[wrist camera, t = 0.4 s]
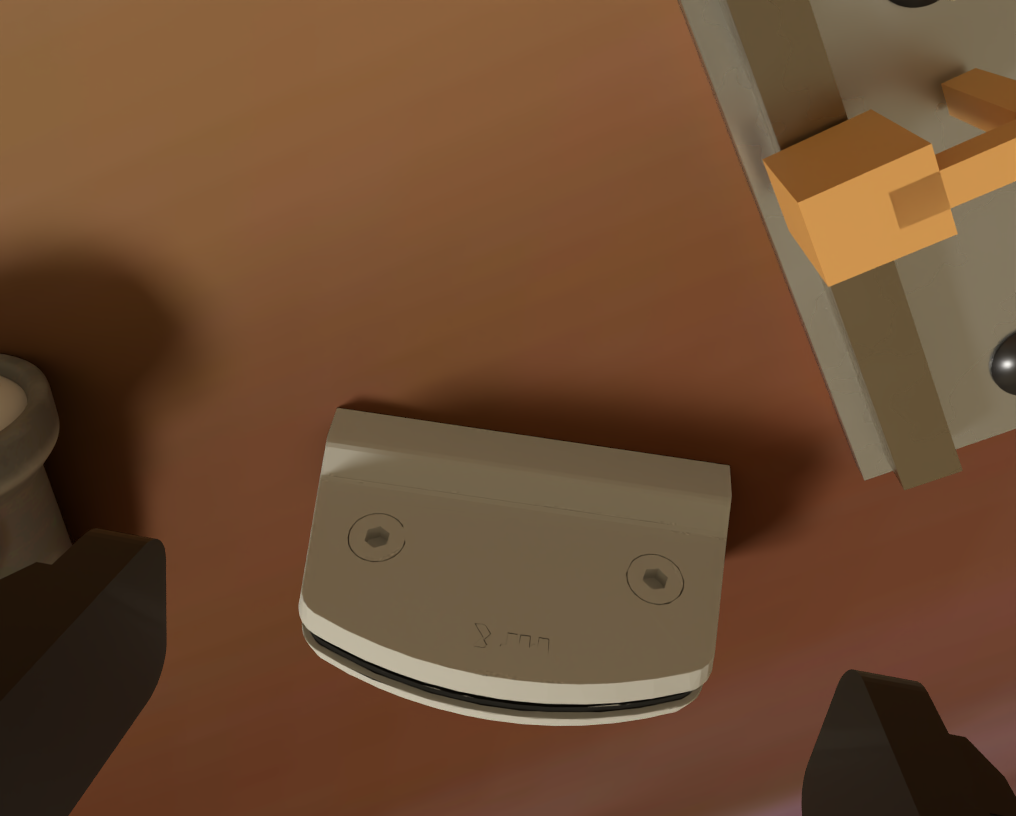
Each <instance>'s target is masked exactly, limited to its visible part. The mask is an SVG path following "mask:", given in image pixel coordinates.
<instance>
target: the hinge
mask: <svg viewBox="0 0 1016 816" xmlns="http://www.w3.org/2000/svg"><path fill="white" fill-rule="evenodd" d="M731 498H732V491H731V476H730V465H723V464H716V463H709V462H703V461H696V460H689V459H682V458H675V457H669V456H662V455H655V454H648V453H641V452H635V451H628V450H621V449H614V448H607V447H601V446H594V445H587V444H580V443H573V442H567V441H560V440H553V439H546V438H539V437H533V436H526V435H519V434H512V433H505V432H499V431H492V430H485V429H478V428H471V427H465V426H458V425H451V424H444V423H437V422H431V421H424V420H417V419H410V418H403V417H397V416H390V415H383V414H376V413H369V412H363V411H356V410H349V409H342V408H337V410H336V413H335V416H334V418H333V421H332V424H331V427H330V430H329V433H328V436H327V441H326V447H325V452H324V458H323V463H322V469H321V475H320V481H319V487H318V493H317V499H316V505H315V511H314V517H313V523H312V529H311V535H310V541H309V547H308V553H307V559H306V565H305V570H304V576H303V582H302V588H301V594H300V600H299V614H300V617H301V620H302V629H303V634H304V637H305V639H306V640H307V642H308V644H309V645H310V646H311V647H312V649H313V650H314V651H315V652H316V653H317V655H318V656H319V657H320V658H322V659H324V660H325V661H327V662H329V663H331V664H332V665H334V666H336V667H338V668H339V669H341V670H343V671H345V672H346V673H348V674H350V675H352V676H355V677H357V678H359V679H361V680H363V681H365V682H367V683H369V684H371V685H374V686H376V687H378V688H380V689H383V690H385V691H388V692H390V693H393V694H395V695H398V696H400V697H403V698H406V699H409V700H412V701H415V702H418V703H422V704H425V705H428V706H431V707H434V708H438V709H442V710H446V711H450V712H454V713H458V714H462V715H466V716H472V717H477V718H483V719H488V720H495V721H503V722H511V723H519V724H533V725H552V726H572V725H595V724H608V723H618V722H625V721H632V720H638V719H645V718H650V717H654V716H659V715H663V714H668V713H672V712H676V711H678V710H679V709H681V708H683V707H684V706H686V705H687V704H689V703H691V702H692V701H694V700H695V699H696V697H697V696H698V695H699V693H700V691H701V689H702V686H703V683H705V682H706V681H707V679H708V677H709V675H710V674H711V672H712V666H713V660H714V654H715V645H716V636H717V626H718V617H719V607H720V598H721V588H722V579H723V569H724V560H725V550H726V541H727V532H728V523H729V515H730V507H731Z"/></svg>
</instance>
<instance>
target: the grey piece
mask: <svg viewBox="0 0 1016 816" xmlns="http://www.w3.org/2000/svg"><path fill="white" fill-rule="evenodd" d="M678 2H679V5H680V8H681V10H682V13H683V15H684V18H685V21H686V23H687V26H688V28H689V31H690V34H691V36H692V39H693V41H694V44H695V47H696V49H697V52H698V54H699V57H700V60H701V62H702V65H703V67H704V70H705V73H706V75H707V78H708V80H709V83H710V86H711V88H712V91H713V93H714V96H715V99H716V101H717V104H718V106H719V109H720V112H721V114H722V117H723V119H724V122H725V125H726V127H727V130H728V132H729V135H730V138H731V140H732V143H733V145H734V148H735V151H736V153H737V156H738V158H739V161H740V164H741V166H742V169H743V171H744V174H745V177H746V179H747V182H748V184H749V187H750V189H751V192H752V195H753V197H754V200H755V202H756V205H757V208H758V210H759V213H760V215H761V218H762V221H763V223H764V226H765V228H766V231H767V234H768V236H769V239H770V241H771V244H772V247H773V249H774V252H775V254H776V257H777V260H778V262H779V265H780V267H781V270H782V273H783V275H784V278H785V280H786V283H787V286H788V288H789V291H790V293H791V296H792V299H793V301H794V304H795V306H796V309H797V312H798V314H799V317H800V319H801V322H802V325H803V327H804V330H805V332H806V335H807V338H808V340H809V343H810V345H811V348H812V351H813V353H814V356H815V358H816V361H817V364H818V366H819V369H820V371H821V374H822V377H823V379H824V382H825V384H826V387H827V390H828V392H829V395H830V397H831V400H832V403H833V405H834V408H835V410H836V413H837V416H838V418H839V421H840V423H841V426H842V429H843V431H844V434H845V436H846V439H847V442H848V444H849V447H850V449H851V452H852V455H853V457H854V460H855V462H856V465H857V467H858V469H859V471H860V473H861V474H862V476H863V478H864V480H867V479H870V478H873V477H876V476H879V475H882V474H885V473H888V472H891V471H893V472H894V473H895V475H896V477H897V479H898V480H899V482H900V484H901V485H902V487H903V489H904V490H907V489H910V488H913V487H916V486H919V485H922V484H925V483H928V482H931V481H934V480H937V479H939V478H942V477H945V476H948V475H951V474H954V473H957V472H960V471H962V467H961V464H960V461H959V458H958V455H957V452H956V449H958V448H961V447H964V446H967V445H969V444H972V443H975V442H978V441H981V440H984V439H987V438H990V437H993V436H996V435H999V434H1002V433H1004V432H1007V431H1010V430H1013V429H1016V181H1015V182H1013V183H1010V184H1008V185H1005V186H1003V187H1001V188H998V189H996V190H994V191H991V192H989V193H986V194H984V195H982V196H979V197H977V198H974V199H972V200H970V201H967V202H965V203H962V204H960V205H958V206H955V207H953V208H951V212H952V216H953V219H954V223H955V226H956V229H957V233H958V234H957V235H954V236H952V237H949V238H947V239H945V240H942V241H940V242H937V243H935V244H932V245H930V246H928V247H925V248H923V249H920V250H918V251H915V252H913V253H910V254H908V255H906V256H903V257H901V258H898V259H896V260H893V261H891V262H889V263H886V264H884V265H881V266H879V267H876V268H874V269H871V270H869V271H867V272H864V273H862V274H859V275H857V276H854V277H852V278H850V279H847V280H845V281H842V282H840V283H837V284H835V285H832V286H830V287H828V286H827V285H826V283H825V282H824V280H823V279H822V277H821V276H820V275H819V273H818V272H817V270H816V269H815V267H814V266H813V265H812V263H811V262H810V260H809V259H808V257H807V256H806V255H805V253H804V252H803V250H802V249H801V247H800V246H799V245H798V243H797V242H796V240H795V239H794V237H793V236H792V235H791V233H790V232H789V230H788V227H787V224H786V222H785V219H784V216H783V214H782V211H781V208H780V206H779V203H778V200H777V197H776V195H775V192H774V189H773V187H772V184H771V181H770V179H769V176H768V173H767V171H766V168H765V165H764V163H763V160H762V159H764V158H766V157H769V156H771V155H773V154H775V153H777V152H779V151H782V150H784V149H786V148H788V147H790V146H792V145H795V144H797V143H799V142H801V141H803V140H805V139H808V138H810V137H812V136H814V135H816V134H818V133H821V132H823V131H825V130H827V129H829V128H831V127H834V126H836V125H838V124H840V123H842V122H844V121H847V120H849V119H851V118H853V117H855V116H857V115H860V114H862V113H864V112H866V111H868V110H870V109H872V110H873V111H875V112H877V113H879V114H880V115H882V116H884V117H886V118H887V119H889V120H891V121H893V122H894V123H896V124H898V125H900V126H901V127H903V128H905V129H907V130H908V131H910V132H912V133H914V134H916V135H917V136H919V137H921V138H923V139H924V140H926V141H928V142H930V143H931V144H932V147H933V150H934V153H935V154H938V153H940V152H942V151H944V150H947V149H949V148H951V147H954V146H956V145H958V144H960V143H963V142H965V141H967V140H970V139H972V138H974V137H976V136H979V135H981V134H983V133H986V132H985V131H983V130H981V129H979V128H976V127H974V126H972V125H970V124H968V123H966V122H963V121H961V120H959V119H957V118H955V117H953V116H950V115H949V111H948V108H947V104H946V100H945V97H944V93H943V90H942V86H941V84H942V83H944V82H946V81H948V80H950V79H953V78H955V77H957V76H959V75H961V74H964V73H966V72H968V71H970V70H972V69H974V68H978V69H981V70H984V71H987V72H991V73H994V74H997V75H1000V76H1004V77H1007V78H1010V79H1013V80H1016V0H678Z"/></svg>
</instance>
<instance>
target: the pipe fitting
mask: <svg viewBox="0 0 1016 816" xmlns="http://www.w3.org/2000/svg"><path fill="white" fill-rule="evenodd" d="M58 434H59V417H58V413H57V409H56V406H55V402H54V399H53V396H52V392H51V389H50V386H49V383H48V380H47V378H46V377H45V375H44V374H43V372H42V371H41V370H40V369H39V368H38V367H36V366H35V365H33V364H32V363H30V362H28V361H26V360H24V359H21V358H18V357H14V356H10V355H5V354H0V579H2V578H4V577H6V576H8V575H10V574H12V573H14V572H17V571H19V570H21V569H23V568H25V567H27V566H29V565H31V564H33V563H35V562H40V563H45V564H51V565H52V564H53V563H54V562H55V561H56V560H57V559H58V558H59V557H60V556H61V555H63V554H64V553H65V552H66V551H67V550H68V549H69V548H70V547H71V546H72V543H71V541H70V538H69V535H68V532H67V529H66V527H65V524H64V521H63V518H62V516H61V513H60V510H59V507H58V504H57V502H56V499H55V496H54V493H53V490H52V488H51V485H50V482H49V479H48V476H47V474H46V471H45V468H44V465H43V464H44V462H45V461H46V459H47V458H48V456H49V455H50V453H51V451H52V450H53V448H54V446H55V444H56V441H57V438H58Z"/></svg>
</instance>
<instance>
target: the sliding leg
mask: <svg viewBox="0 0 1016 816" xmlns="http://www.w3.org/2000/svg"><path fill="white" fill-rule="evenodd" d="M941 86H942V90H943V93H944V97H945V100H946V104H947V108H948V111H949V115H950V116H953V117H955V118H957V119H959V120H961V121H963V122H966V123H968V124H970V125H972V126H974V127H976V128H979V129H981V130H983V131H985V132H986V133H983V134H981V135H979V136H976V137H974V138H972V139H970V140H967V141H965V142H963V143H960V144H958V145H956V146H954V147H951V148H949V149H947V150H944V151H942V152H940V153H938V154H935V153H934V150H933V147H932V144H931V143H930V142H928V141H926V140H924V139H923V138H921V137H919V136H917V135H916V134H914V133H912V132H910V131H908V130H907V129H905V128H903V127H901V126H900V125H898V124H896V123H894V122H893V121H891V120H889V119H887V118H886V117H884V116H882V115H880V114H879V113H877V112H875V111H873V110H872V109H870V110H868V111H866V112H864V113H862V114H860V115H857V116H855V117H853V118H851V119H849V120H847V121H844V122H842V123H840V124H838V125H836V126H834V127H831V128H829V129H827V130H825V131H823V132H821V133H818V134H816V135H814V136H812V137H810V138H808V139H805V140H803V141H801V142H799V143H797V144H795V145H792V146H790V147H788V148H786V149H784V150H782V151H779V152H777V153H775V154H773V155H771V156H769V157H766V158H764V159H762V160H763V163H764V165H765V168H766V171H767V173H768V176H769V179H770V181H771V184H772V187H773V189H774V192H775V195H776V197H777V200H778V203H779V206H780V208H781V211H782V214H783V216H784V219H785V222H786V224H787V227H788V230H789V232H790V233H791V235H792V236H793V237H794V239H795V240H796V242H797V243H798V245H799V246H800V247H801V249H802V250H803V252H804V253H805V255H806V256H807V257H808V259H809V260H810V262H811V263H812V265H813V266H814V267H815V269H816V270H817V272H818V273H819V275H820V276H821V277H822V279H823V280H824V282H825V283H826V285H827V286H828V287H830V286H832V285H835V284H837V283H840V282H842V281H845V280H847V279H850V278H852V277H854V276H857V275H859V274H862V273H864V272H867V271H869V270H871V269H874V268H876V267H879V266H881V265H884V264H886V263H889V262H891V261H893V260H896V259H898V258H901V257H903V256H906V255H908V254H910V253H913V252H915V251H918V250H920V249H923V248H925V247H928V246H930V245H932V244H935V243H937V242H940V241H942V240H945V239H947V238H949V237H952V236H954V235H957V234H958V233H957V229H956V226H955V223H954V219H953V216H952V212H951V208H953V207H955V206H958V205H960V204H962V203H965V202H967V201H970V200H972V199H974V198H977V197H979V196H982V195H984V194H986V193H989V192H991V191H994V190H996V189H998V188H1001V187H1003V186H1005V185H1008V184H1010V183H1013V182H1015V181H1016V80H1013V79H1010V78H1007V77H1004V76H1000V75H997V74H994V73H991V72H987V71H984V70H981V69H978V68H974V69H972V70H970V71H968V72H966V73H964V74H961V75H959V76H957V77H955V78H953V79H950V80H948V81H946V82H944V83H942V84H941Z"/></svg>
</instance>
